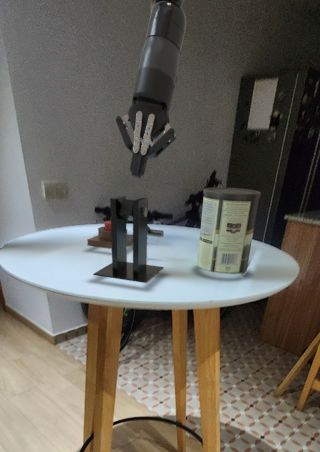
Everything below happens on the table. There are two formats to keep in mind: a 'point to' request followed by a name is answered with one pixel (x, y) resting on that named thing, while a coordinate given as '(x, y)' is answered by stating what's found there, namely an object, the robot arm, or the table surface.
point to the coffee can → (227, 229)
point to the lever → (127, 214)
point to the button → (107, 225)
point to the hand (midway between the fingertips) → (136, 176)
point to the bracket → (119, 244)
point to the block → (106, 239)
